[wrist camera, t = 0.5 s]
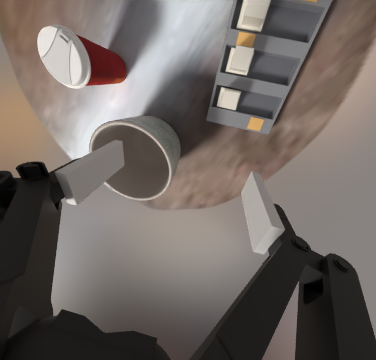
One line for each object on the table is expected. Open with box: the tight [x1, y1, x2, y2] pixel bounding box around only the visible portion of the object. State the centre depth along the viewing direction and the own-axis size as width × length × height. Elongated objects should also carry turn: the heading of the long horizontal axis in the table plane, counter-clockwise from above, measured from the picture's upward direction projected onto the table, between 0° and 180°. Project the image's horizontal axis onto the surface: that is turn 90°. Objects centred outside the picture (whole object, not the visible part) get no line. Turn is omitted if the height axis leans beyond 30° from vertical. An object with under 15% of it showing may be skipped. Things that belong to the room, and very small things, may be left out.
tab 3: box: [217, 87, 241, 110], centre depth 29 cm, size 3×4×6 cm
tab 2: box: [225, 45, 254, 76], centre depth 26 cm, size 3×4×6 cm
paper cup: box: [37, 25, 127, 88], centre depth 28 cm, size 8×8×14 cm
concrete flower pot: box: [89, 116, 181, 200], centre depth 35 cm, size 17×17×15 cm
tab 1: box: [236, 0, 271, 34], centre depth 22 cm, size 3×4×6 cm
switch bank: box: [206, 0, 332, 134], centre depth 28 cm, size 22×14×3 cm, turn 170°
